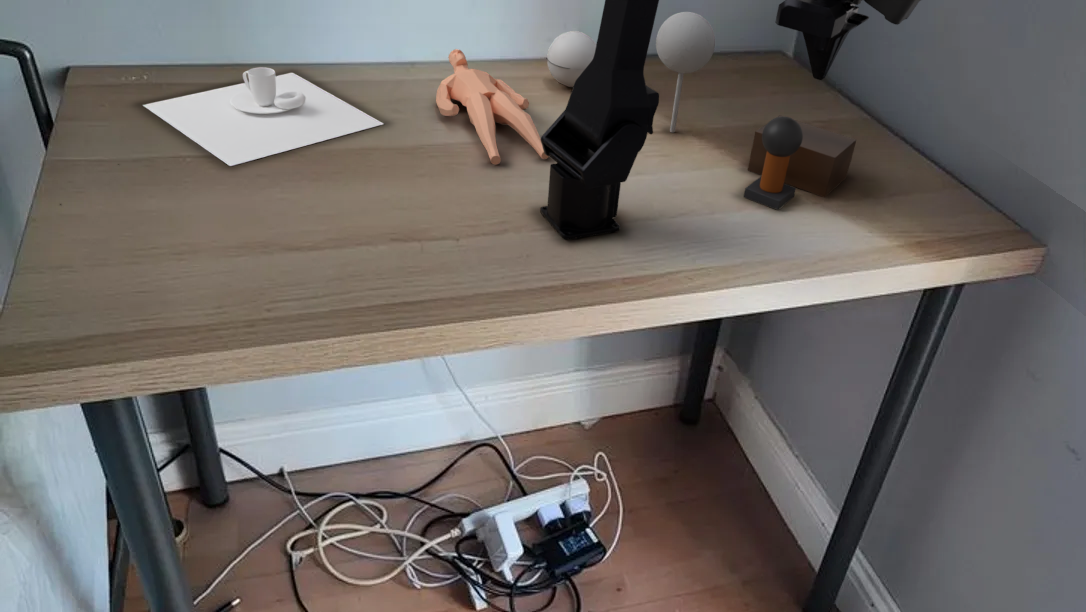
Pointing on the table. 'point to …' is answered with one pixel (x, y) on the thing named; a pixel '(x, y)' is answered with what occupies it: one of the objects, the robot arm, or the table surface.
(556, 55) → the white oval body
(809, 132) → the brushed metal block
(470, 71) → the male figurine
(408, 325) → the table surface
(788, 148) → the ball-topped stamp
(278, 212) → the table surface
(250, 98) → the teacup and saucer
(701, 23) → the lollipop
